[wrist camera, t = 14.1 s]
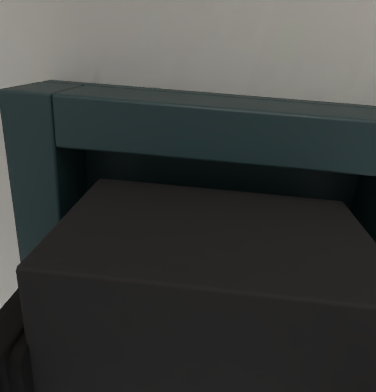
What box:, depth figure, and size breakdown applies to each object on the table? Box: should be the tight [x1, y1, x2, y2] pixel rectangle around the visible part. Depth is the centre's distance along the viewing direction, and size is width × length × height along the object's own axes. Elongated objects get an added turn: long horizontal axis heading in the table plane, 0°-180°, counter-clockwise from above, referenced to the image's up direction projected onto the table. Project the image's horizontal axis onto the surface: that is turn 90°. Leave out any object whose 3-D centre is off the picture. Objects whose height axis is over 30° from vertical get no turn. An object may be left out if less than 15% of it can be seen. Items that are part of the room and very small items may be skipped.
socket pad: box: [0, 80, 376, 262], centre depth 11 cm, size 10×10×3 cm
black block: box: [16, 178, 376, 392], centre depth 8 cm, size 6×6×4 cm
